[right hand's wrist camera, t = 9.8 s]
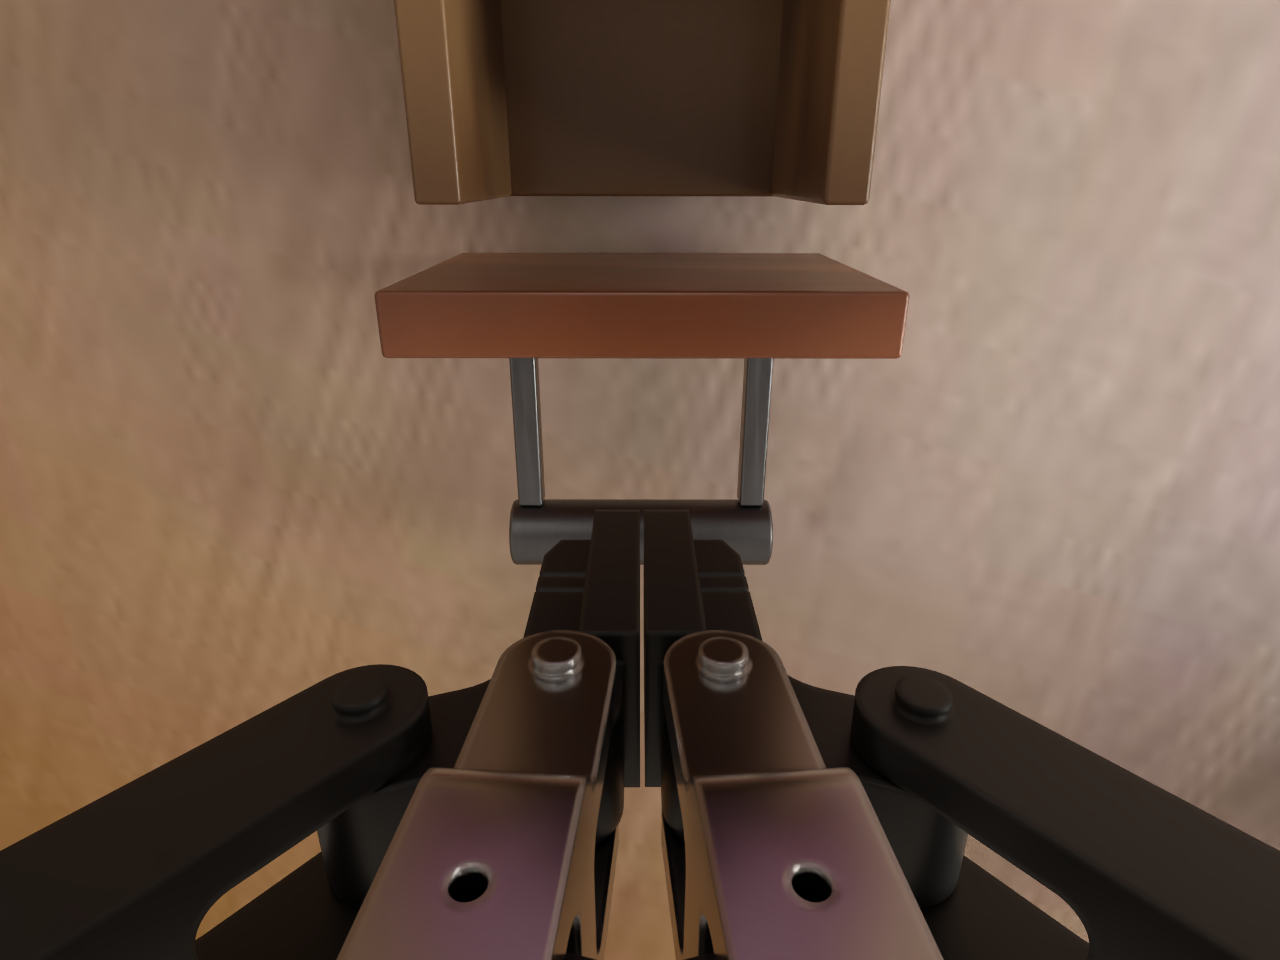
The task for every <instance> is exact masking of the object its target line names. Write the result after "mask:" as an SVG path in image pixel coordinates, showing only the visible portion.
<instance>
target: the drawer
mask: <svg viewBox="0 0 1280 960" xmlns="http://www.w3.org/2000/svg"><path fill="white" fill-rule="evenodd" d="M890 1H891V0H394V4H395V13H396V23H397V33H398V42H399V52H400V61H401V71H402V81H403V90H404V100H405V110H406V119H407V129H408V138H409V148H410V158H411V167H412V177H413V186H414V196H415V201H416V203H418V204H463V203H469V202H475V201H482V200H488V199H494V198H500V197H506V196H775V197H782V198H788V199H794V200H800V201H807V202H813V203H819V204H825V205H864V204H866V203H867V202H868V200H869V196H870V186H871V177H872V168H873V159H874V149H875V140H876V131H877V122H878V112H879V103H880V94H881V85H882V75H883V66H884V57H885V48H886V38H887V29H888V20H889V11H890ZM908 302H909V294H908V292H905V291H903V290H901V289H899V288H896V287H894V286H892V285H890V284H887V283H885V282H883V281H880V280H878V279H876V278H874V277H871V276H869V275H867V274H864V273H862V272H860V271H858V270H855V269H853V268H851V267H849V266H846V265H844V264H842V263H839V262H837V261H835V260H833V259H830V258H828V257H826V256H823V255H821V254H757V253H462V254H460V255H458V256H456V257H453V258H451V259H449V260H447V261H444V262H442V263H440V264H438V265H435V266H433V267H431V268H429V269H426V270H424V271H422V272H420V273H417V274H415V275H413V276H411V277H408V278H406V279H404V280H402V281H399V282H397V283H395V284H393V285H390V286H388V287H386V288H384V289H381V290H379V291H377V292H375V303H376V311H377V318H378V326H379V334H380V342H381V350H382V354H383V357H386V358H509V361H510V377H511V392H512V407H513V423H514V438H515V454H516V469H517V485H518V500H516V501H514V503H513V505H512V509H511V515H510V526H509V542H510V553H511V557H512V560H513V563H515V564H542V562H543V558H544V555H545V554H546V553H547V552H548V551H550V550H551V549H552V548H553V547H554V546H555V545H556V544H557V543H558V542H560V541H561V540H591V535H592V528H593V520H594V513H595V510H640V565H644V510H689V513H690V520H691V526H692V533H693V540H723V541H725V542H726V543H727V544H728V545H729V546H730V547H731V548H732V549H734V550H735V551H736V552H737V553H738V554H739V555H740V558H741V562H742V565H765V564H768V563H769V560H770V557H771V553H772V543H773V525H772V514H771V509H770V506H769V503H768V501H766V500H764V487H765V472H766V458H767V443H768V429H769V414H770V399H771V385H772V370H773V358H899V357H900V356H901V354H902V347H903V340H904V332H905V325H906V317H907V310H908ZM538 358H745V360H744V379H743V397H742V416H741V434H740V453H739V471H738V490H737V497H738V500H544V497H545V489H544V469H543V449H542V429H541V409H540V389H539V369H538Z"/></svg>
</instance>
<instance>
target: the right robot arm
mask: <svg viewBox="0 0 1280 960" xmlns="http://www.w3.org/2000/svg"><path fill="white" fill-rule="evenodd" d="M644 718H645V787H661V798H662V832H661V839H662V851H663V859H664V867H665V875H666V883H667V891H668V899H669V907H670V915H671V924H672V932H673V940H674V948H675V956H676V960H1280V851H1279V850H1277V849H1275V848H1273V847H1271V846H1269V845H1267V844H1265V843H1264V842H1262V841H1260V840H1258V839H1256V838H1254V837H1252V836H1250V835H1248V834H1247V833H1245V832H1243V831H1241V830H1239V829H1237V828H1235V827H1233V826H1231V825H1230V824H1228V823H1226V822H1224V821H1222V820H1220V819H1218V818H1216V817H1214V816H1213V815H1211V814H1209V813H1207V812H1205V811H1203V810H1201V809H1199V808H1197V807H1196V806H1194V805H1192V804H1190V803H1188V802H1186V801H1184V800H1182V799H1180V798H1179V797H1177V796H1175V795H1173V794H1171V793H1169V792H1167V791H1165V790H1163V789H1162V788H1160V787H1158V786H1156V785H1154V784H1152V783H1150V782H1148V781H1146V780H1145V779H1143V778H1141V777H1139V776H1137V775H1135V774H1133V773H1131V772H1129V771H1128V770H1126V769H1124V768H1122V767H1120V766H1118V765H1116V764H1114V763H1112V762H1111V761H1109V760H1107V759H1105V758H1103V757H1101V756H1099V755H1097V754H1095V753H1094V752H1092V751H1090V750H1088V749H1086V748H1084V747H1082V746H1080V745H1078V744H1077V743H1075V742H1073V741H1071V740H1069V739H1067V738H1065V737H1063V736H1061V735H1059V734H1058V733H1056V732H1054V731H1052V730H1050V729H1048V728H1046V727H1044V726H1042V725H1041V724H1039V723H1037V722H1035V721H1033V720H1031V719H1029V718H1027V717H1025V716H1024V715H1022V714H1020V713H1018V712H1016V711H1014V710H1012V709H1010V708H1008V707H1007V706H1005V705H1003V704H1001V703H999V702H997V701H995V700H993V699H991V698H990V697H988V696H986V695H984V694H982V693H980V692H978V691H976V690H974V689H973V688H971V687H969V686H967V685H965V684H963V683H961V682H959V681H957V680H955V679H953V678H951V677H949V676H947V675H944V674H941V673H939V672H936V671H932V670H928V669H924V668H918V667H909V666H893V667H886V668H881V669H878V670H875V671H873V672H871V673H869V674H867V675H866V676H865V677H863V678H862V679H861V681H860V682H859V683H858V685H857V688H856V692H855V696H853V695H849V694H844V693H839V692H835V691H830V690H825V689H821V688H817V687H813V686H811V685H808V684H805V683H802V682H800V681H798V680H796V679H794V678H792V677H790V676H789V675H787V673H786V671H785V668H784V666H783V663H782V661H781V659H780V657H779V656H778V654H777V653H776V652H775V651H774V649H773V648H771V647H770V646H769V645H768V644H766V643H764V642H763V641H762V638H761V634H760V630H759V626H758V622H757V619H756V615H755V611H754V607H753V603H752V600H751V596H750V592H748V584H747V581H746V577H745V576H744V569H743V565H742V562H741V558H740V555H739V554H738V553H737V552H736V551H735V550H734V549H732V548H731V547H730V546H729V545H728V544H727V543H726V542H725V541H723V540H693V533H692V526H691V520H690V513H689V510H644ZM624 787H640V510H595V513H594V520H593V528H592V535H591V540H561V541H560V542H558V543H557V544H556V545H555V546H554V547H553V548H552V549H551V550H550V551H548V552H547V553H546V554H545V555H544V558H543V562H542V566H541V570H540V577H539V578H538V582H537V586H536V592H535V594H534V598H533V602H532V606H531V610H530V614H529V618H528V622H527V626H526V630H525V634H524V638H523V639H521V640H519V641H517V642H516V643H514V644H512V645H511V646H510V647H509V648H507V649H506V651H505V652H504V653H503V654H502V656H501V657H500V659H499V661H498V663H497V666H496V668H495V671H494V673H493V675H492V678H491V679H490V680H488V681H486V682H484V683H481V684H478V685H476V686H473V687H469V688H465V689H462V690H457V691H452V692H448V693H443V694H438V695H434V696H429V697H428V692H427V687H426V684H425V682H424V680H423V679H422V678H421V677H420V676H419V675H418V674H416V673H415V672H413V671H411V670H409V669H407V668H403V667H400V666H394V665H368V666H362V667H356V668H353V669H349V670H346V671H343V672H340V673H337V674H335V675H333V676H331V677H328V678H326V679H324V680H323V681H321V682H319V683H317V684H315V685H313V686H311V687H309V688H307V689H306V690H304V691H302V692H300V693H298V694H296V695H294V696H292V697H290V698H289V699H287V700H285V701H283V702H281V703H279V704H277V705H275V706H273V707H272V708H270V709H268V710H266V711H264V712H262V713H260V714H258V715H256V716H255V717H253V718H251V719H249V720H247V721H245V722H243V723H241V724H239V725H238V726H236V727H234V728H232V729H230V730H228V731H226V732H224V733H222V734H221V735H219V736H217V737H215V738H213V739H211V740H209V741H207V742H205V743H204V744H202V745H200V746H198V747H196V748H194V749H192V750H190V751H188V752H187V753H185V754H183V755H181V756H179V757H177V758H175V759H173V760H171V761H170V762H168V763H166V764H164V765H162V766H160V767H158V768H156V769H154V770H153V771H151V772H149V773H147V774H145V775H143V776H141V777H139V778H137V779H136V780H134V781H132V782H130V783H128V784H126V785H124V786H122V787H120V788H119V789H117V790H115V791H113V792H111V793H109V794H107V795H105V796H103V797H102V798H100V799H98V800H96V801H94V802H92V803H90V804H88V805H86V806H85V807H83V808H81V809H79V810H77V811H75V812H73V813H71V814H69V815H67V816H66V817H64V818H62V819H60V820H58V821H56V822H54V823H52V824H50V825H49V826H47V827H45V828H43V829H41V830H39V831H37V832H35V833H33V834H32V835H30V836H28V837H26V838H24V839H22V840H20V841H18V842H16V843H15V844H13V845H11V846H9V847H7V848H5V849H3V850H1V851H0V960H604V956H605V948H606V940H607V932H608V924H609V915H610V907H611V899H612V891H613V883H614V875H615V867H616V859H617V851H618V839H619V832H618V824H619V822H620V820H621V817H622V814H623V807H624ZM315 831H317V832H318V837H319V842H320V847H321V851H322V852H320V853H319V854H317V855H316V856H314V857H313V858H312V859H310V860H309V861H307V862H306V863H305V864H303V865H302V866H300V867H299V868H298V869H296V870H295V871H293V872H292V873H290V874H289V875H288V876H286V877H285V878H283V879H282V880H281V881H279V882H278V883H276V884H275V885H274V886H272V887H271V888H269V889H268V890H266V891H265V892H264V893H262V894H261V895H259V896H258V897H257V898H255V899H254V900H252V901H251V902H250V903H248V904H247V905H245V906H244V907H242V908H241V909H240V910H238V911H237V912H235V913H234V914H233V915H231V916H230V917H228V918H227V919H225V920H224V921H223V922H221V923H220V924H218V925H217V926H216V927H214V928H213V929H211V930H210V931H209V932H207V933H206V934H204V935H203V936H201V937H200V938H198V939H197V940H195V937H196V933H197V930H198V927H199V925H200V923H201V921H202V919H203V918H204V916H205V914H206V913H207V912H208V910H209V909H210V908H211V906H212V905H213V904H214V903H215V902H216V901H217V900H218V899H219V898H220V897H221V896H222V895H224V894H225V893H226V892H227V891H229V890H230V889H232V888H233V887H234V886H236V885H237V884H239V883H240V882H242V881H243V880H245V879H246V878H248V877H249V876H251V875H252V874H254V873H255V872H256V871H258V870H259V869H261V868H262V867H264V866H265V865H267V864H268V863H270V862H271V861H273V860H274V859H276V858H277V857H278V856H280V855H281V854H283V853H284V852H286V851H287V850H289V849H290V848H292V847H293V846H295V845H296V844H297V843H299V842H300V841H302V840H303V839H305V838H306V837H308V836H309V835H311V834H312V833H314V832H315ZM968 834H969V835H971V836H972V837H974V838H975V839H977V840H978V841H980V842H981V843H983V844H984V845H985V846H987V847H988V848H990V849H991V850H993V851H994V852H996V853H997V854H999V855H1000V856H1002V857H1003V858H1005V859H1006V860H1007V861H1009V862H1010V863H1012V864H1013V865H1015V866H1016V867H1018V868H1019V869H1021V870H1022V871H1024V872H1025V873H1027V874H1028V875H1029V876H1031V877H1032V878H1034V879H1035V880H1037V881H1038V882H1040V883H1041V884H1043V885H1044V886H1046V887H1047V888H1048V889H1050V890H1051V891H1053V892H1054V893H1056V894H1057V895H1058V896H1060V897H1061V898H1062V899H1063V900H1064V901H1065V902H1066V903H1067V904H1069V906H1070V907H1071V908H1072V909H1073V910H1074V911H1075V913H1076V914H1077V915H1078V917H1079V918H1080V920H1081V921H1082V923H1083V925H1084V927H1085V929H1086V931H1087V934H1088V938H1089V943H1088V942H1086V941H1084V940H1083V939H1081V938H1080V937H1079V936H1077V935H1076V934H1074V933H1073V932H1071V931H1070V930H1069V929H1067V928H1066V927H1064V926H1063V925H1062V924H1060V923H1059V922H1057V921H1056V920H1055V919H1053V918H1052V917H1050V916H1049V915H1047V914H1046V913H1045V912H1043V911H1042V910H1040V909H1039V908H1038V907H1036V906H1035V905H1033V904H1032V903H1031V902H1029V901H1028V900H1026V899H1025V898H1023V897H1022V896H1021V895H1019V894H1018V893H1016V892H1015V891H1014V890H1012V889H1011V888H1009V887H1008V886H1006V885H1005V884H1004V883H1002V882H1001V881H999V880H998V879H997V878H995V877H994V876H992V875H991V874H990V873H988V872H987V871H985V870H984V869H982V868H981V867H980V866H978V865H977V864H975V863H974V862H973V861H971V860H970V859H968V858H967V857H966V856H964V851H965V846H966V841H967V837H968Z"/></svg>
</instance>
